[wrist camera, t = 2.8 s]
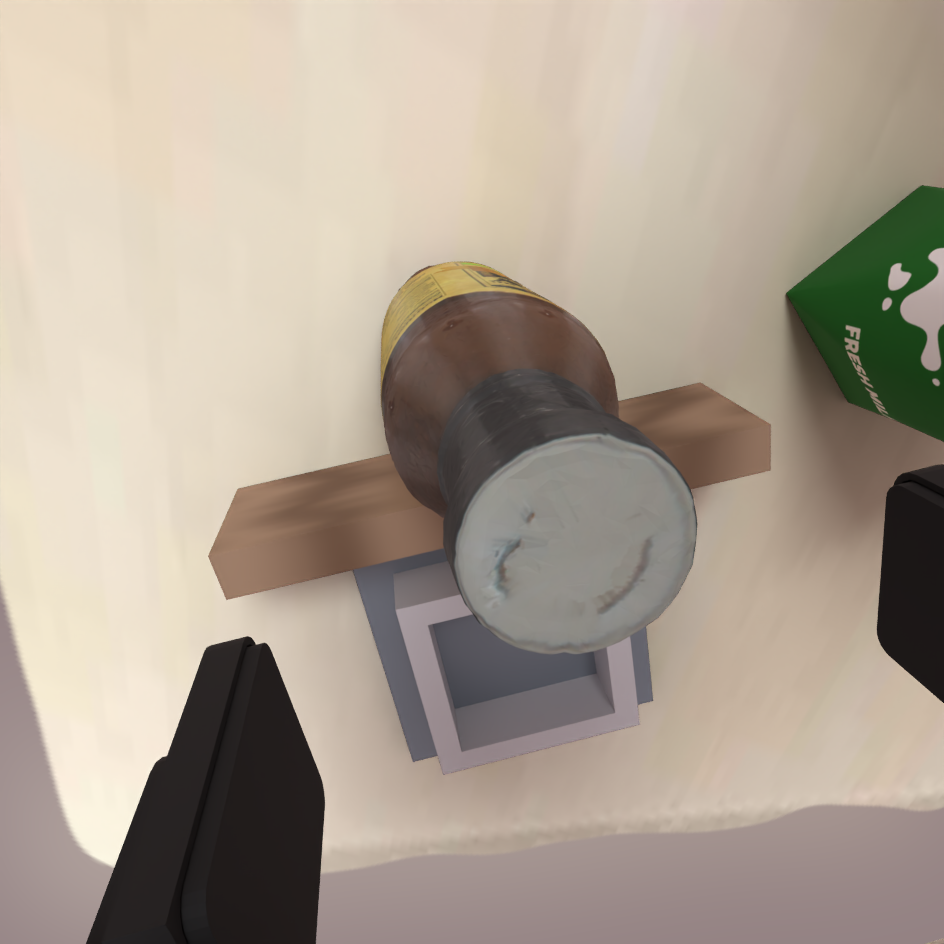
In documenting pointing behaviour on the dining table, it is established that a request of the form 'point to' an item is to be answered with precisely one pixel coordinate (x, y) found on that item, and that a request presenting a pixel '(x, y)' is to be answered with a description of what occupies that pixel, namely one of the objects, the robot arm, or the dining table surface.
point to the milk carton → (885, 313)
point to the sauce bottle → (530, 463)
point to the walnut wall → (419, 528)
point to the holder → (488, 673)
